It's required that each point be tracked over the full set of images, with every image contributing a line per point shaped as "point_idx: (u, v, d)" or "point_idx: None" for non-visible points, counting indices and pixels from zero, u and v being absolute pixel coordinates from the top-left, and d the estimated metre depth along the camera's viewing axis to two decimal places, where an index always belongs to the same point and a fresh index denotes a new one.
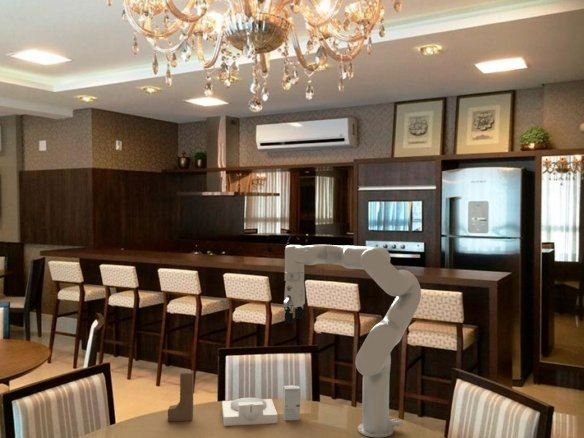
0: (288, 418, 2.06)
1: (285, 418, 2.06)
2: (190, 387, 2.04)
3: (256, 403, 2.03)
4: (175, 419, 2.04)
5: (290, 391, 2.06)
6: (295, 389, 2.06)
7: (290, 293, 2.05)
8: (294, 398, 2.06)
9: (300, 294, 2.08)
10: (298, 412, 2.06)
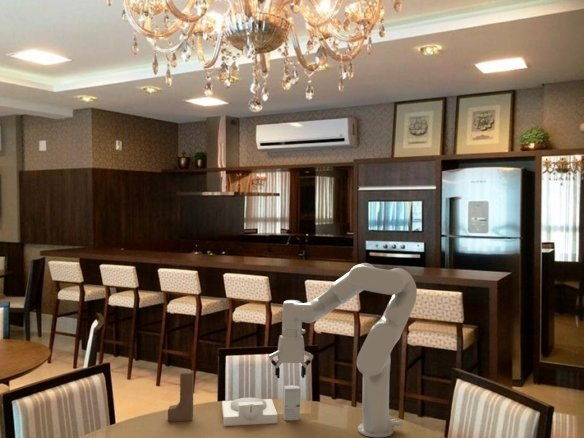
0: (288, 418, 2.06)
1: (285, 418, 2.06)
2: (190, 387, 2.04)
3: (256, 403, 2.03)
4: (175, 419, 2.04)
5: (290, 391, 2.06)
6: (295, 389, 2.06)
7: None
8: (294, 398, 2.06)
9: None
10: (298, 412, 2.06)
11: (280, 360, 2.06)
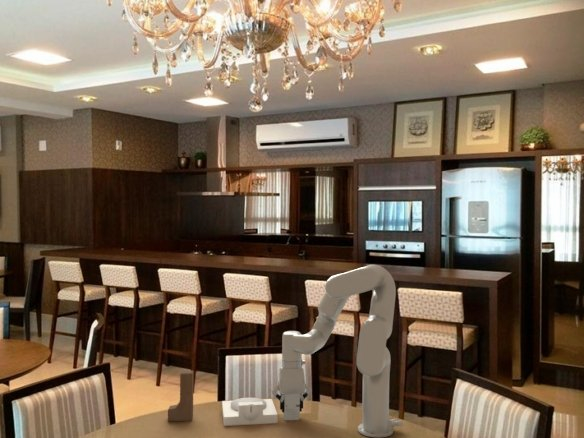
0: (288, 418, 2.06)
1: (285, 418, 2.06)
2: (190, 387, 2.04)
3: (256, 403, 2.03)
4: (175, 419, 2.04)
5: None
6: None
7: None
8: (294, 398, 2.06)
9: None
10: (298, 412, 2.06)
11: (281, 392, 2.05)
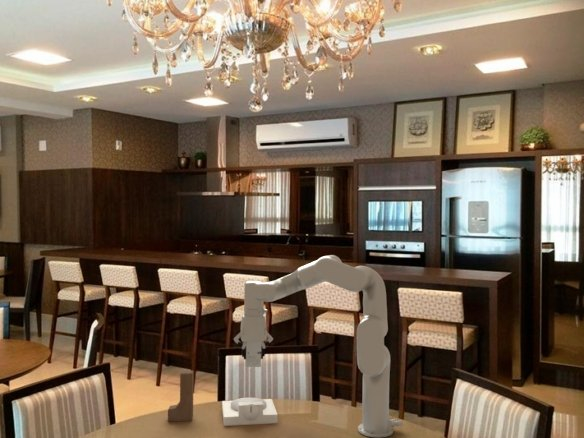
0: (249, 365, 2.10)
1: (246, 365, 2.10)
2: (190, 387, 2.04)
3: (256, 403, 2.03)
4: (175, 419, 2.04)
5: None
6: None
7: None
8: (256, 346, 2.10)
9: None
10: (259, 359, 2.10)
11: (242, 339, 2.09)
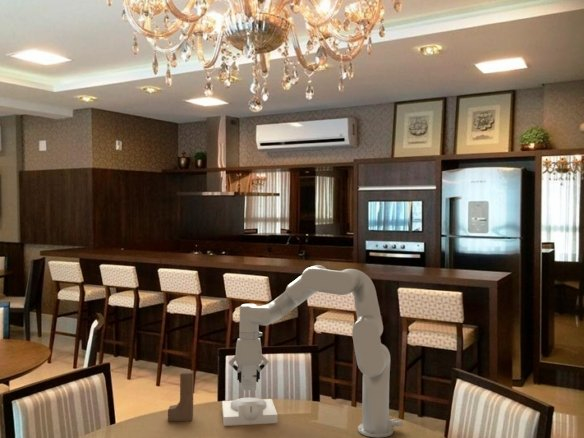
0: (244, 388, 2.10)
1: (242, 388, 2.10)
2: (190, 387, 2.04)
3: (256, 403, 2.03)
4: (175, 419, 2.04)
5: None
6: None
7: None
8: (251, 369, 2.11)
9: None
10: (255, 382, 2.11)
11: (238, 363, 2.10)
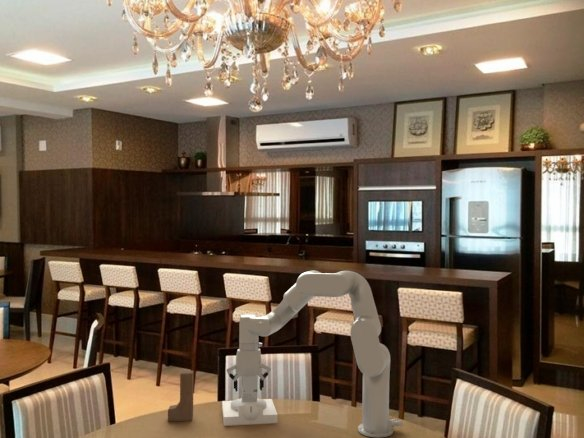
0: None
1: None
2: (190, 387, 2.04)
3: (256, 403, 2.03)
4: (175, 419, 2.04)
5: (248, 377, 2.10)
6: None
7: None
8: (252, 383, 2.11)
9: None
10: (256, 397, 2.11)
11: (237, 373, 2.10)
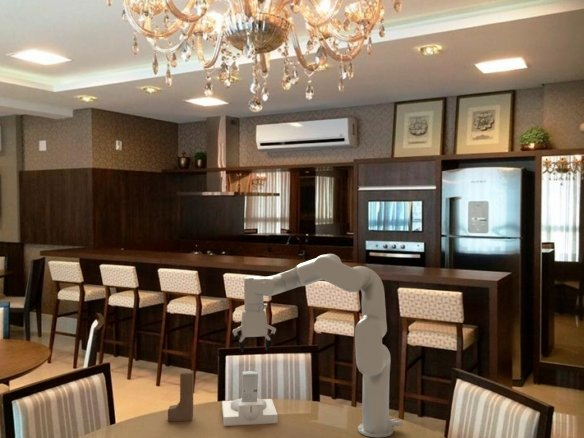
0: None
1: None
2: (190, 387, 2.04)
3: (256, 403, 2.03)
4: (175, 419, 2.04)
5: (248, 377, 2.10)
6: (253, 374, 2.11)
7: None
8: (252, 383, 2.11)
9: None
10: (256, 397, 2.11)
11: (243, 334, 2.11)
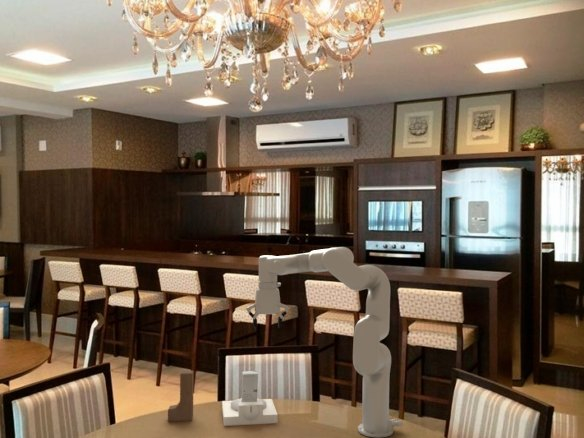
0: None
1: None
2: (190, 387, 2.04)
3: (256, 403, 2.03)
4: (175, 419, 2.04)
5: (248, 377, 2.10)
6: (253, 374, 2.11)
7: None
8: (252, 383, 2.11)
9: None
10: (256, 397, 2.11)
11: (257, 311, 2.17)
